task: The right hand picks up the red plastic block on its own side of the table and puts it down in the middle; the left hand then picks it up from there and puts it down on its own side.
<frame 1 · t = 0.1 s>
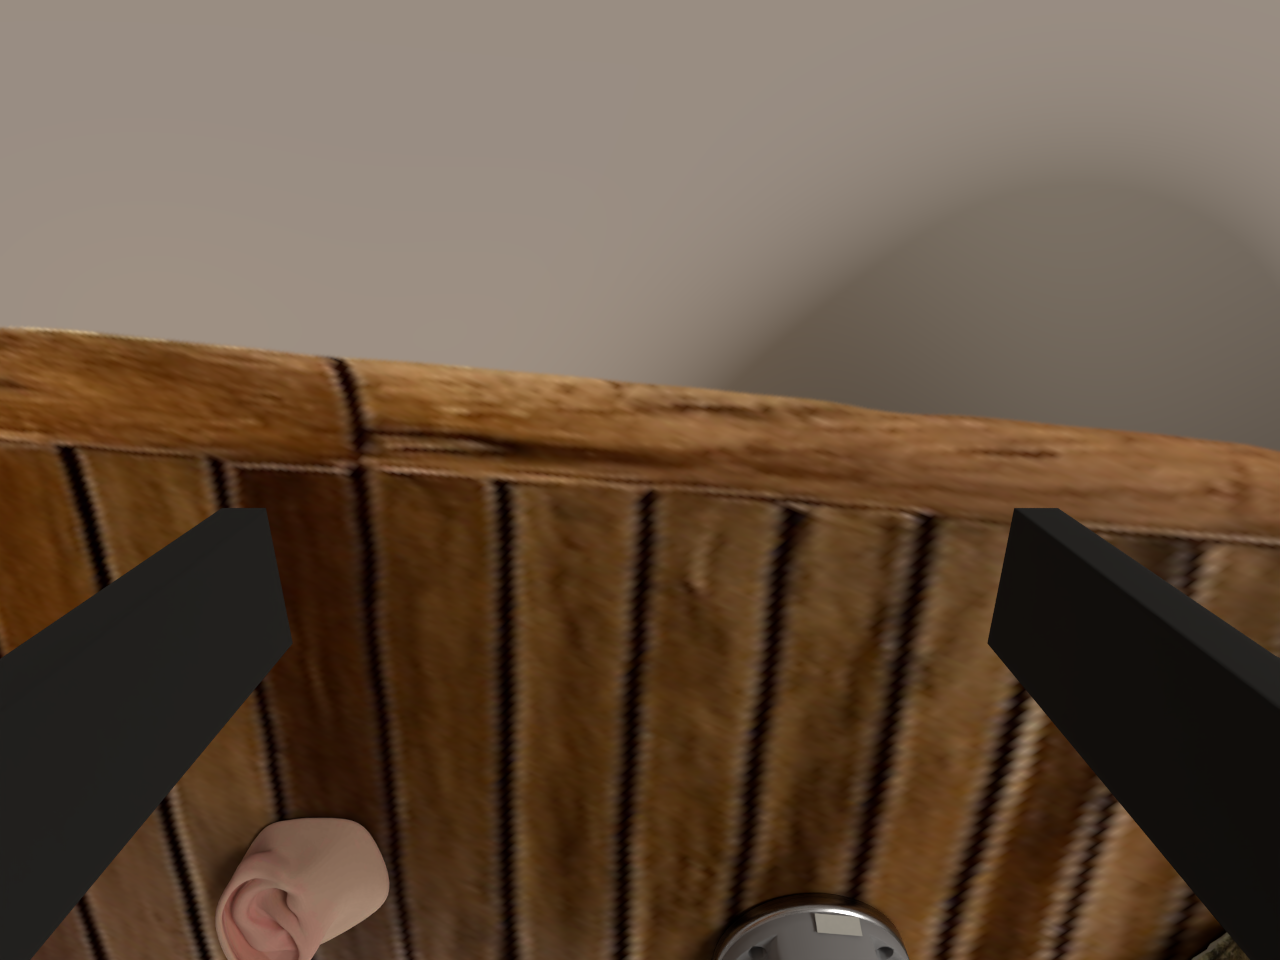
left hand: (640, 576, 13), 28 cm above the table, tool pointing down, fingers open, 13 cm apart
anatomical model: (311, 876, 53), on the table
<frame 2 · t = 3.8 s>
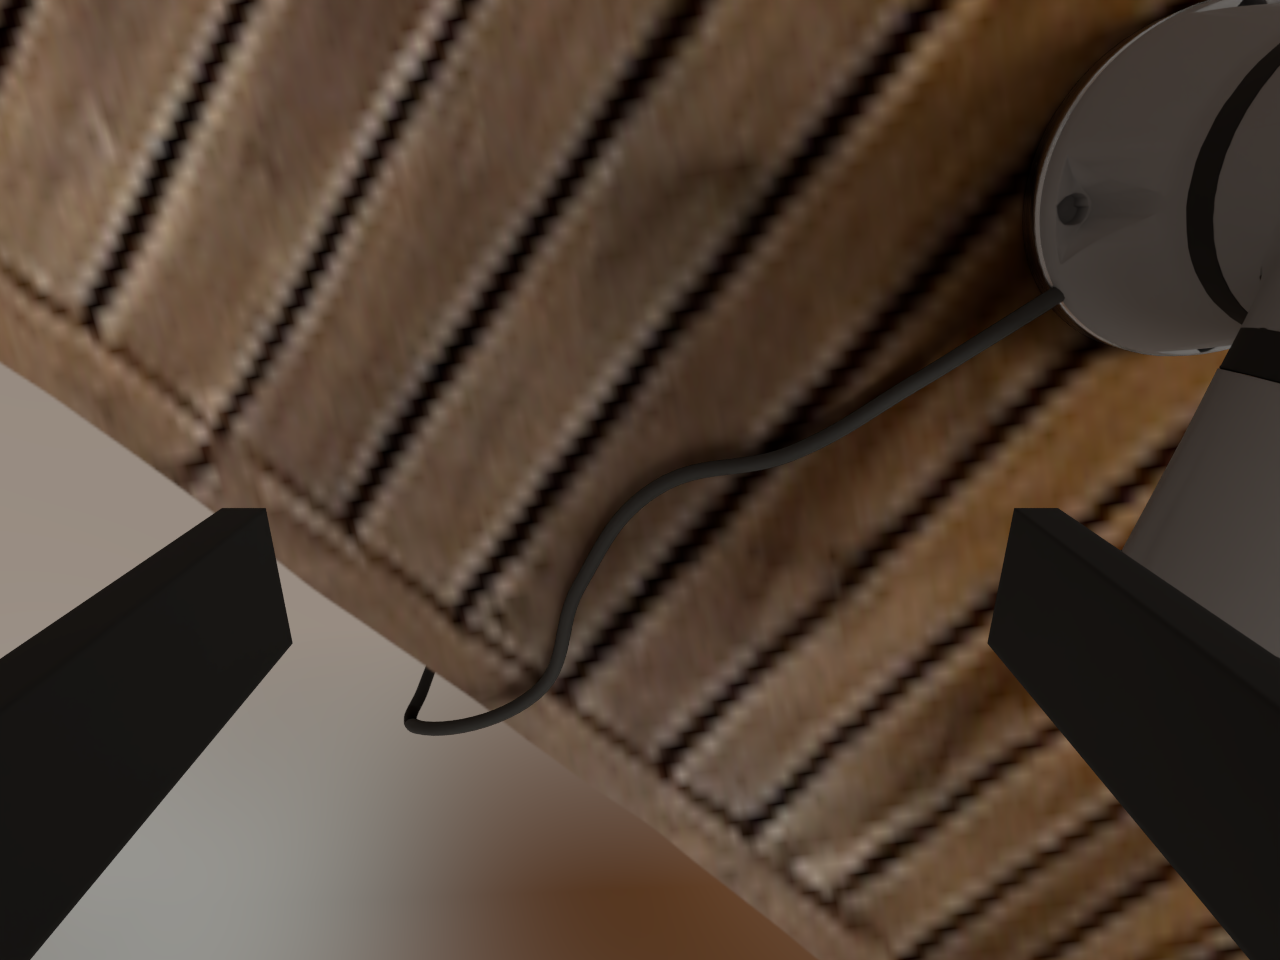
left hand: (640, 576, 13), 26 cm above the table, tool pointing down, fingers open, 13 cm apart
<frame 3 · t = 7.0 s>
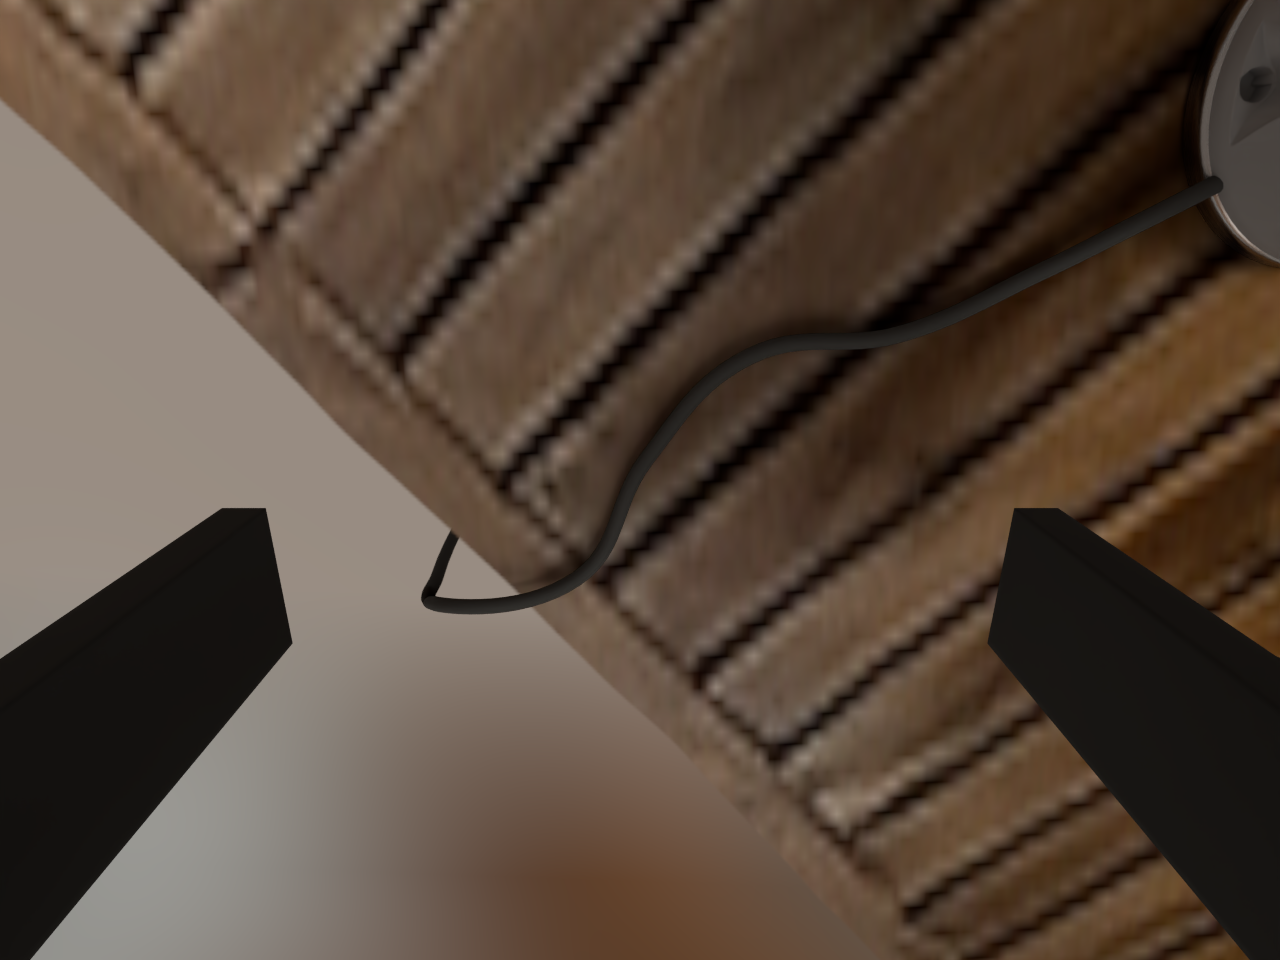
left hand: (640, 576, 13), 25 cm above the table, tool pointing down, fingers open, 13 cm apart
when the right hand's fingers open (2 cm above the table, at t = 10.6 s): block drops 1 cm, on the table.
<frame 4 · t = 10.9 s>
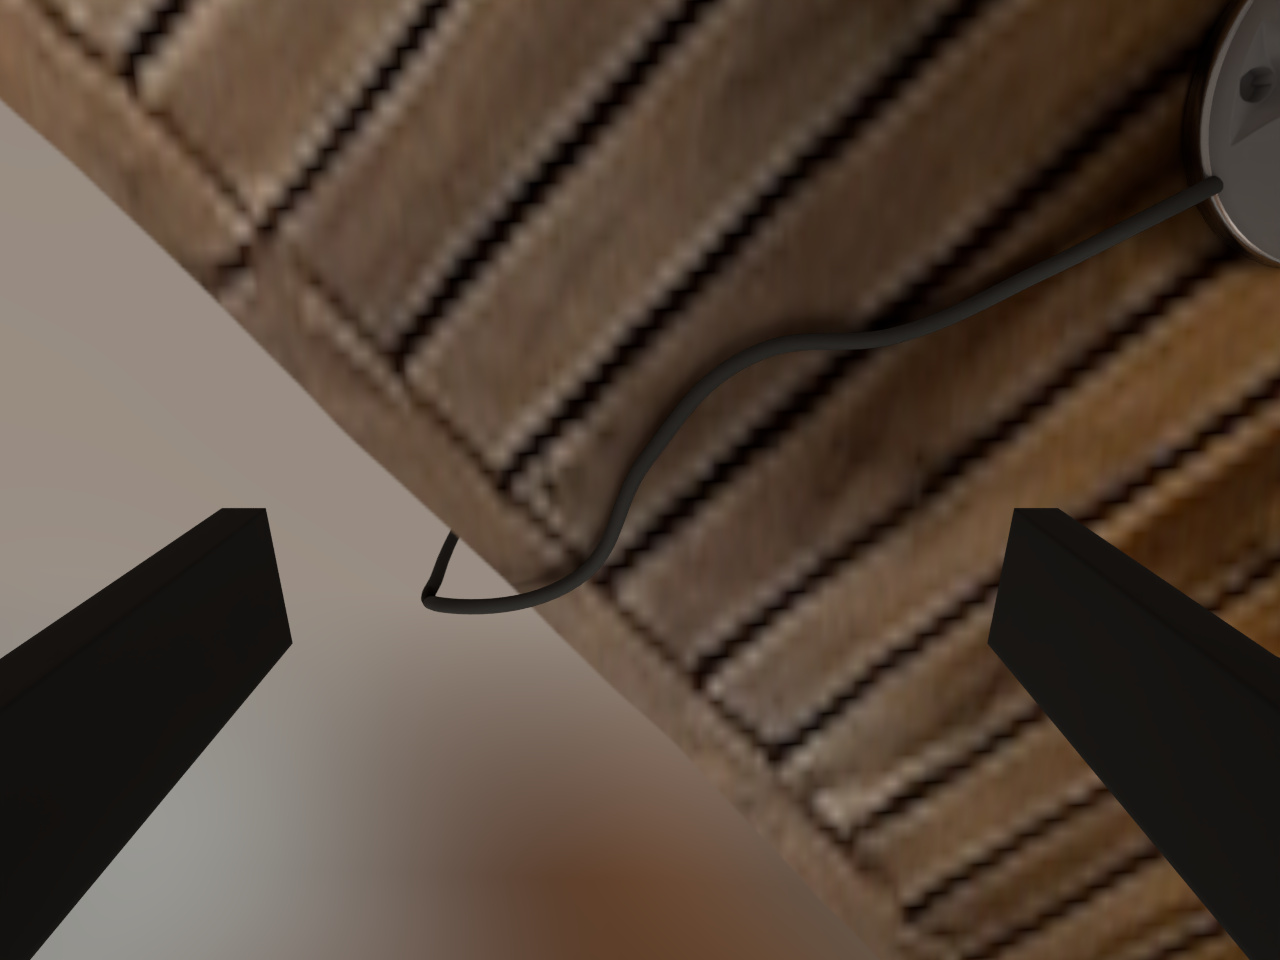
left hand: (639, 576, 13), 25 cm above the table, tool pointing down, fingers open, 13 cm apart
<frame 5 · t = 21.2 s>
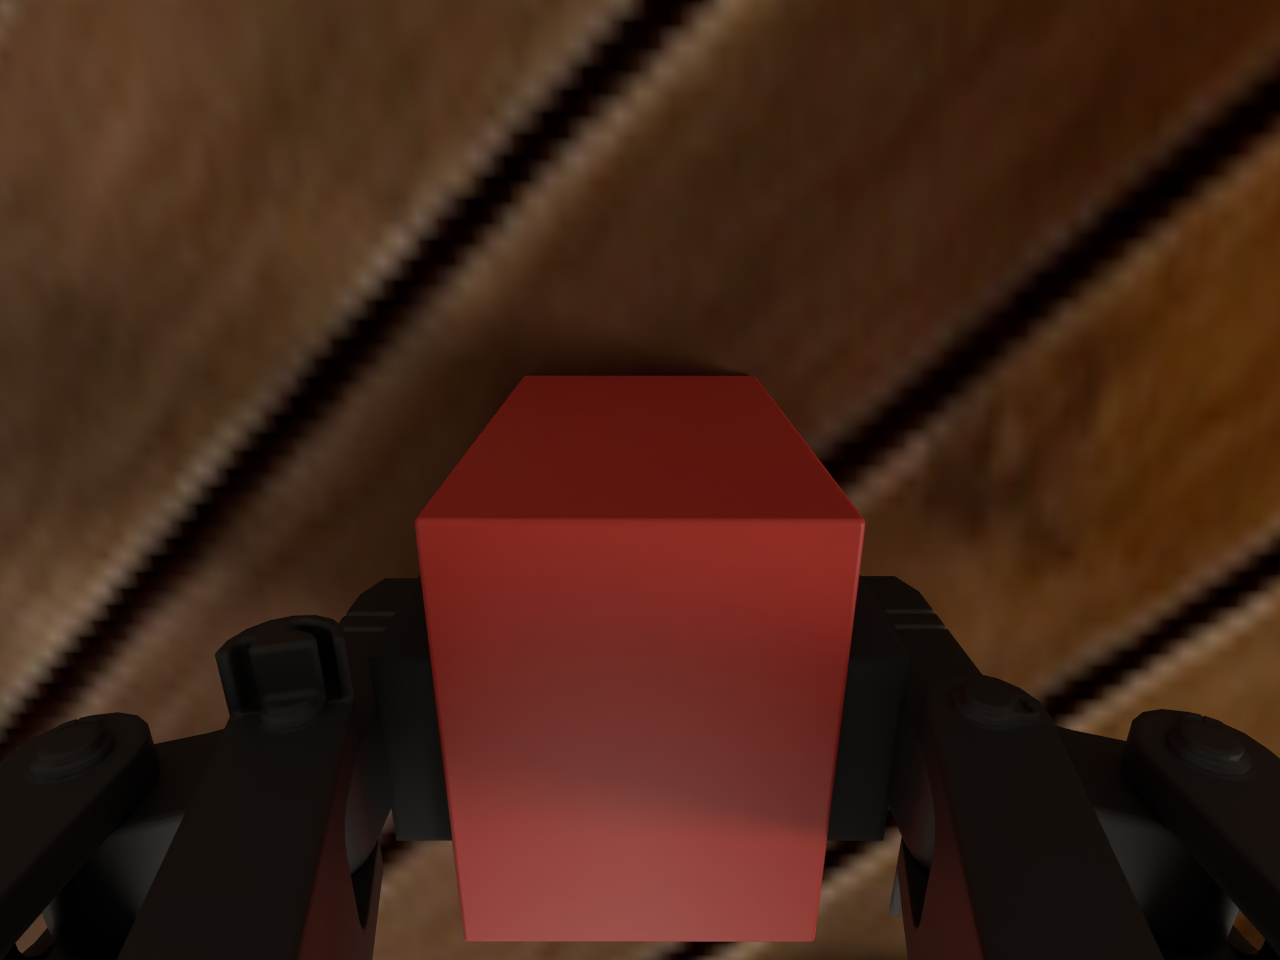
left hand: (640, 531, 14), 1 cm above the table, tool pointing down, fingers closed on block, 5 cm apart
block: (639, 515, 15), on the table, touching left hand
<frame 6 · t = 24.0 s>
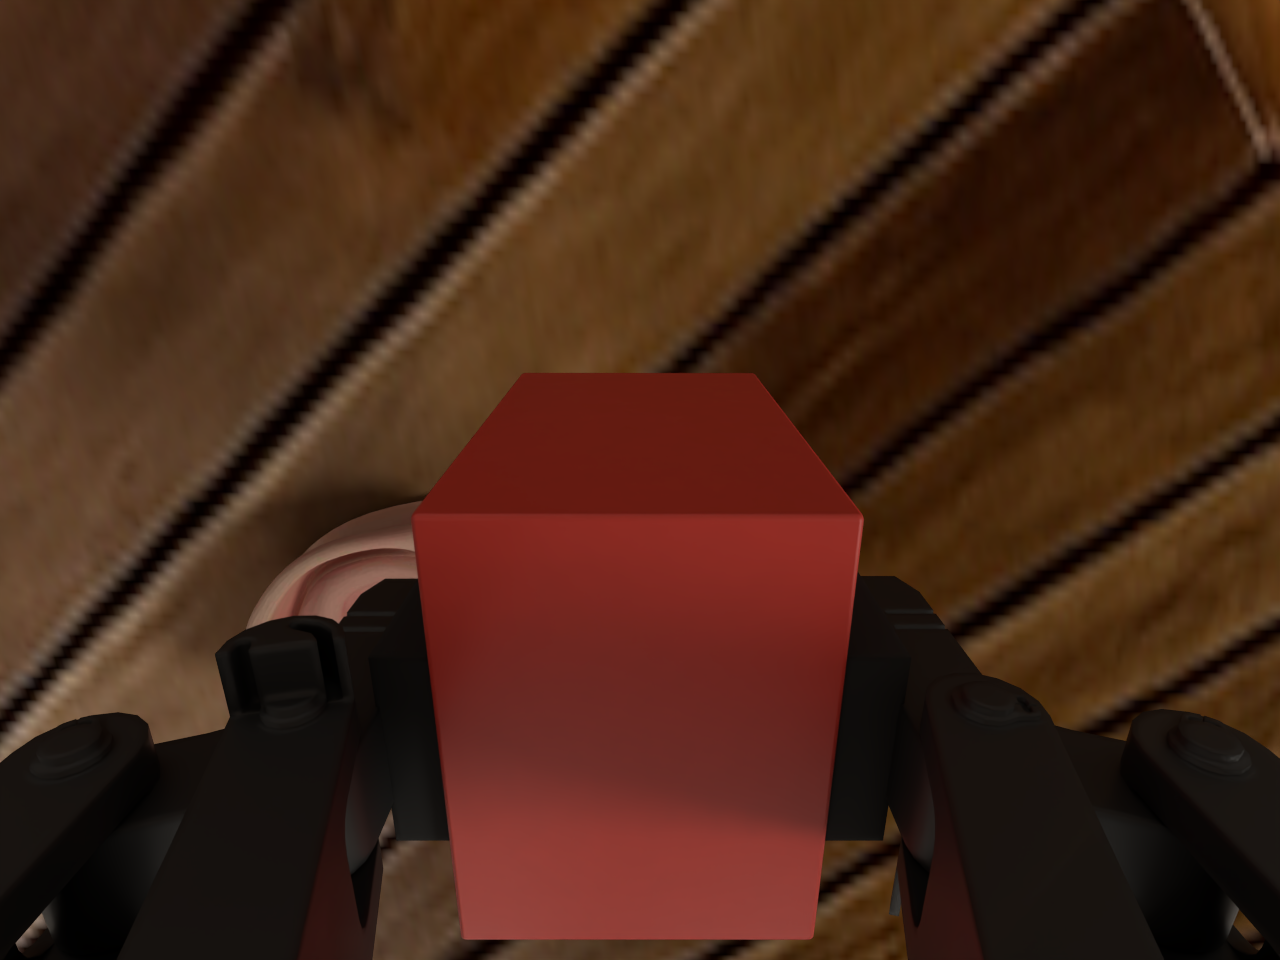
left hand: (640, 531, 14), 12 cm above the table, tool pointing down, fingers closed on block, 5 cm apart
anatomical model: (451, 609, 29), on the table
block: (638, 513, 15), point 11 cm above the table, touching left hand
when the left hand's fingers open (2 cm above the table, at t = 26.9 s): block drops 2 cm, on the table.
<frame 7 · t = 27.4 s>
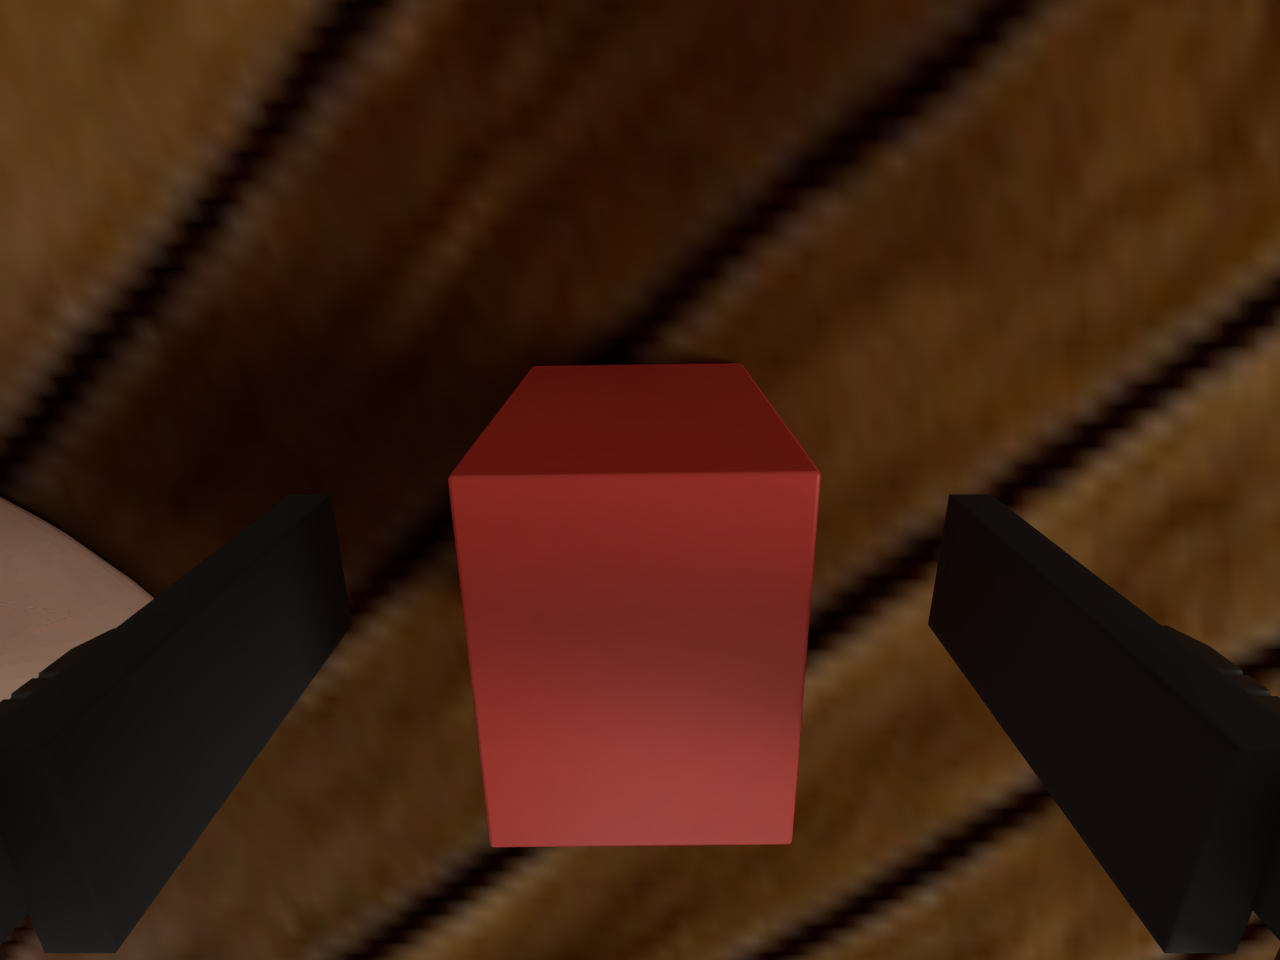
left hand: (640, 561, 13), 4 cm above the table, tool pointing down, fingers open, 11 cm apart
block: (638, 492, 16), on the table
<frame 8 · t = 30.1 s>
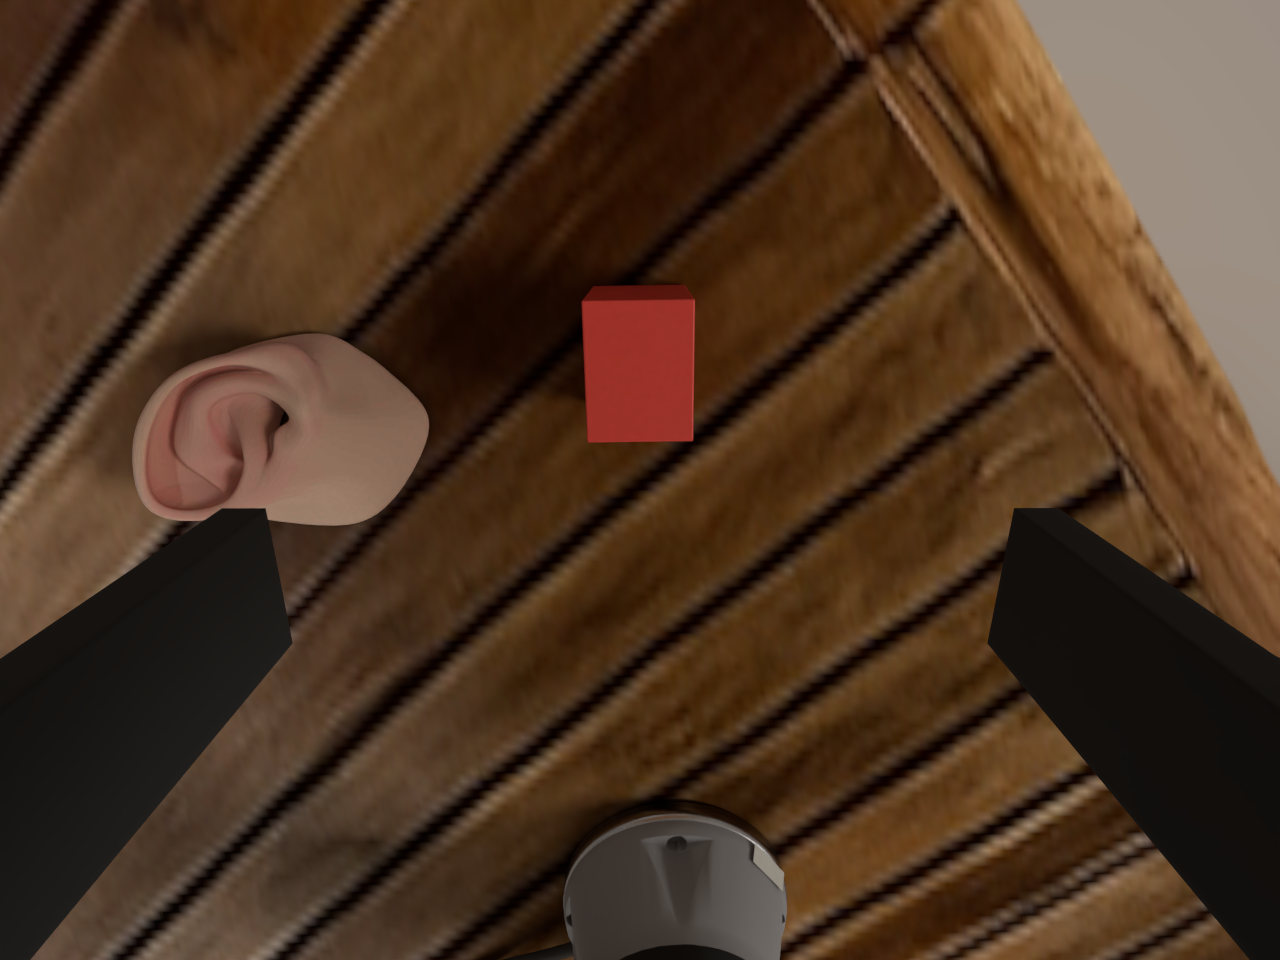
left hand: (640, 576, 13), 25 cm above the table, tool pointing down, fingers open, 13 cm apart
anatomical model: (301, 431, 38), on the table
block: (639, 345, 36), on the table
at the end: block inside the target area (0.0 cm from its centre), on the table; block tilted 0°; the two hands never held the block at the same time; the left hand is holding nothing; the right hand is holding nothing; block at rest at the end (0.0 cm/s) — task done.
